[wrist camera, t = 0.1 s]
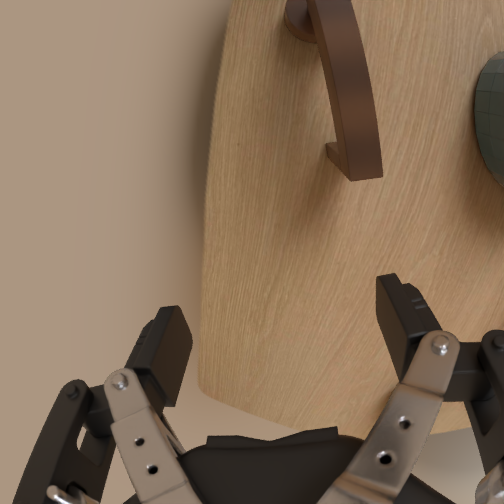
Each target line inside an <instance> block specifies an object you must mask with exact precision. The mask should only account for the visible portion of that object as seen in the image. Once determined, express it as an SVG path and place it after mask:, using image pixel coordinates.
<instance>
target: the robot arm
mask: <svg viewBox="0 0 504 504" xmlns="http://www.w3.org/2000/svg"><path fill="white" fill-rule="evenodd" d="M376 315H377V320H378V324H379V326H380V329H381V331H382V334H383V337H384V339H385V342H386V345H387V348H388V350H389V353H390V356H391V359H392V362H393V365H394V367H395V370H396V373H397V376H398V379H399V383H398V384H397V385H396V387H395V389H394V391H393V393H392V395H391V396H390V398H389V400H388V402H387V404H386V406H385V407H384V409H383V411H382V413H381V414H380V416H379V418H378V420H377V421H376V423H375V425H374V426H373V428H372V430H371V431H370V433H369V435H368V436H367V438H366V439H365V440H362V439H360V438H356V437H353V436H347V435H338V428H337V426H335V427H329V428H322V429H314V430H306V431H302V432H299V433H296V434H293V435H290V436H287V437H283V438H280V439H276V440H273V441H266V440H260V439H254V438H248V437H243V436H237V435H235V436H208V437H207V442H206V444H205V445H202V446H198V447H196V448H193V449H191V450H189V451H187V452H186V451H185V450H184V448H183V446H182V445H181V443H180V442H179V440H178V438H177V436H176V435H175V433H174V431H173V430H172V428H171V426H170V424H169V423H168V421H167V419H166V417H165V416H164V414H163V413H162V412H163V409H164V407H175V404H176V401H177V397H178V394H179V390H180V387H181V383H182V380H183V376H184V373H185V370H186V366H187V362H188V359H189V356H190V352H191V349H192V344H193V340H192V334H191V332H190V329H189V327H188V325H187V323H186V320H185V318H184V315H183V313H182V310H181V308H180V307H179V306H178V305H177V306H168V307H161V308H160V309H159V311H158V313H157V315H156V317H155V319H154V320H151V321H150V322H149V323H148V324H147V325H146V326H145V327H144V328H143V330H142V332H141V334H140V336H139V338H138V340H137V342H136V345H135V346H134V348H133V350H132V353H131V354H130V356H129V359H128V360H127V363H126V365H125V367H124V368H123V369H119V370H116V371H114V372H113V373H111V374H110V375H109V376H108V377H107V379H106V380H105V382H104V384H103V385H99V386H95V387H91V388H89V387H88V386H87V384H86V383H85V382H84V381H83V380H79V379H77V380H73V381H70V382H68V383H67V384H66V385H65V386H64V387H63V388H62V390H61V391H60V393H59V395H58V397H57V399H56V401H55V403H54V405H53V407H52V409H51V411H50V413H49V415H48V417H47V420H46V422H45V424H44V426H43V428H42V430H41V433H40V435H39V437H38V439H37V442H36V444H35V446H34V449H33V451H32V453H31V456H30V458H29V461H28V463H27V465H26V468H25V470H24V473H23V476H22V478H21V481H20V483H19V486H18V489H17V492H16V495H15V497H14V500H13V503H12V504H100V502H101V498H102V494H103V490H104V487H105V483H106V479H107V475H108V472H109V468H110V464H111V461H112V458H113V454H114V451H115V448H116V444H117V447H118V449H119V452H120V455H121V458H122V460H123V463H124V465H125V468H126V470H127V473H128V475H129V478H130V480H131V482H132V484H133V487H134V489H135V491H136V493H135V494H134V495H133V496H132V497H131V498H129V499H128V500H127V501H126V502H124V503H123V504H455V503H454V502H452V501H451V500H449V499H448V498H446V497H445V496H443V495H442V494H440V493H439V492H437V491H436V490H434V489H433V488H431V487H430V486H429V485H427V484H426V483H424V482H423V481H421V480H420V479H419V478H417V477H416V476H414V475H413V474H412V473H411V471H412V469H413V467H414V465H415V463H416V461H417V459H418V457H419V455H420V453H421V451H422V449H423V447H424V445H425V443H426V440H427V438H428V436H429V434H430V432H431V429H432V427H433V425H434V422H435V420H436V417H437V415H438V412H439V410H440V407H441V405H442V402H456V401H464V404H465V407H466V410H467V413H468V416H469V419H470V422H471V425H472V428H473V432H474V435H475V438H476V441H477V445H478V449H479V452H480V456H481V459H482V463H483V467H484V471H485V475H486V476H485V477H484V478H483V479H482V480H481V481H480V482H479V484H478V486H477V489H476V493H475V504H504V331H503V330H491V331H489V332H487V333H486V334H485V335H484V336H483V338H482V341H481V342H459V341H458V339H457V338H456V336H454V335H453V334H452V333H450V332H447V331H443V330H442V328H441V326H440V325H439V323H438V321H437V319H436V318H435V316H434V314H433V313H432V311H431V309H430V308H429V306H428V304H427V303H426V301H425V299H424V298H423V296H422V295H421V293H420V291H419V290H418V289H417V288H415V287H414V286H413V285H411V284H410V283H407V284H402V283H401V282H400V280H399V278H398V277H397V275H396V274H395V273H392V274H386V275H381V276H377V277H376ZM82 426H83V427H85V429H86V430H87V431H86V433H85V436H84V439H83V442H82V445H81V447H80V450H78V448H77V438H78V436H79V433H80V431H81V428H82Z"/></svg>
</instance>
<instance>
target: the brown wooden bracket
mask: <svg viewBox="0 0 504 504" xmlns="http://www.w3.org/2000/svg"><path fill="white" fill-rule="evenodd" d="M284 19H285V23H286V26H287V28H288V29H289V31H290V32H291V33H292V34H293V35H294V36H296V37H297V38H299V39H301V40H303V41H307V42H312V43H317V44H318V48H319V53H320V57H321V61H322V66H323V70H324V75H325V80H326V84H327V89H328V94H329V99H330V105H331V110H332V116H333V121H334V127H335V133H336V139H337V142H332V143H326V148H327V154H328V158H329V159H330V160H331V161H332V162H333V163H334V164H335V165H336V166H337V167H338V169H339V170H340V171H341V172H342V173H343V174H344V175H345V176H346V177H347V178H348V179H349V181H351V182H352V181H359V180H366V179H373V178H381V177H383V168H382V158H381V149H380V141H379V133H378V125H377V118H376V112H375V105H374V99H373V94H372V88H371V83H370V77H369V72H368V67H367V63H366V58H365V54H364V49H363V45H362V41H361V37H360V33H359V29H358V25H357V21H356V17H355V14H354V10H353V7H352V3H351V0H287V2H286V7H285V15H284Z"/></svg>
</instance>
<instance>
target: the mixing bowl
mask: <svg viewBox="0 0 504 504" xmlns="http://www.w3.org/2000/svg"><path fill="white" fill-rule="evenodd" d="M474 114H475V127H476V135H477V139H478V143H479V147H480V151H481V154H482V156H483V158H484V161H485V163H486V165H487V168H488V170H489V171H490V172H491V174H492V175H493V176H494V178H495V179H496V181H497V182H498V183H499V184H501V185H502V186H503V187H504V51H503V52H499V53H497V54H496V55H495V56H493V57H492V58H491V59H490V60H489V61H488V62H487V64H486V66H485V67H484V69H483V70H482V72H481V74H480V78H479V81H478V85H477V88H476V96H475V107H474Z"/></svg>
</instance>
